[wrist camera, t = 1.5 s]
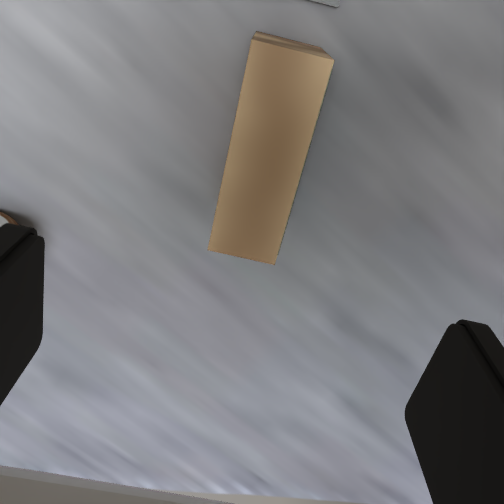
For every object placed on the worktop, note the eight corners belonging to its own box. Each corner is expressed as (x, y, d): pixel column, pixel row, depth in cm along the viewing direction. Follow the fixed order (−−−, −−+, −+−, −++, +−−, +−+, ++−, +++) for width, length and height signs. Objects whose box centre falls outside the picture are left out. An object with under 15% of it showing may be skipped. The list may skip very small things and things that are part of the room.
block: (321, 47, 25) (336, 60, 19) (275, 214, 30) (276, 265, 24) (256, 31, 25) (251, 39, 19) (220, 201, 29) (207, 250, 24)
